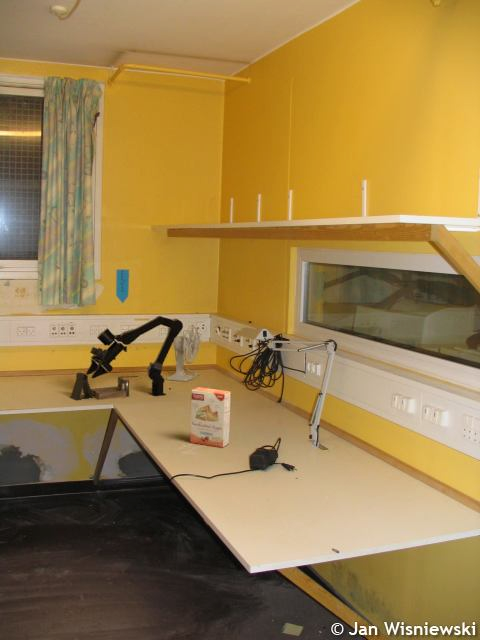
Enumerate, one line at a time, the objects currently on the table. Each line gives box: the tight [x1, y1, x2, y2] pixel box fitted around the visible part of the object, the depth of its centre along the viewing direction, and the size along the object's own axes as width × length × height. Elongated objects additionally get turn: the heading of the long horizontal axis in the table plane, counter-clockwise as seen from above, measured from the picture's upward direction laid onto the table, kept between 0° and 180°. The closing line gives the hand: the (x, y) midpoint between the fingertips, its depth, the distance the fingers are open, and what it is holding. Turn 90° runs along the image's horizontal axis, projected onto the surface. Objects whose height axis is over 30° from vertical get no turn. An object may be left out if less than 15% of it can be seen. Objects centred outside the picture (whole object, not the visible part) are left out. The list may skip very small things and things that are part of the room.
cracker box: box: [190, 386, 231, 449], centre depth 269 cm, size 14×6×21 cm, turn 66°
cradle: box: [90, 376, 130, 400], centre depth 345 cm, size 11×16×8 cm
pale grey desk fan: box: [166, 325, 202, 382], centre depth 395 cm, size 30×22×30 cm
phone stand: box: [70, 372, 94, 401], centre depth 338 cm, size 9×6×12 cm, turn 129°
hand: (89, 376), depth 339 cm, fingers open, 9 cm apart
